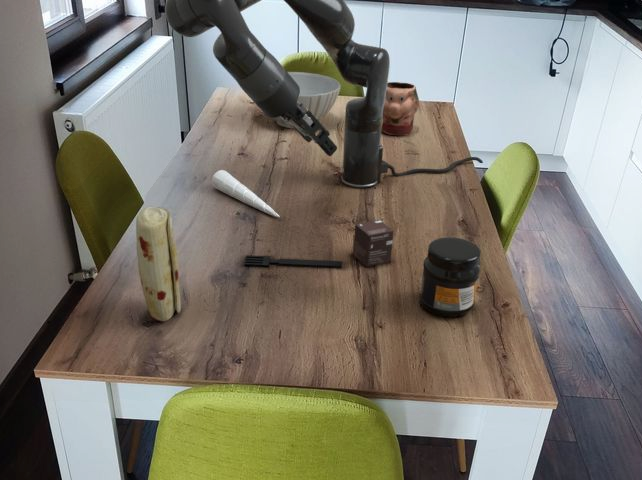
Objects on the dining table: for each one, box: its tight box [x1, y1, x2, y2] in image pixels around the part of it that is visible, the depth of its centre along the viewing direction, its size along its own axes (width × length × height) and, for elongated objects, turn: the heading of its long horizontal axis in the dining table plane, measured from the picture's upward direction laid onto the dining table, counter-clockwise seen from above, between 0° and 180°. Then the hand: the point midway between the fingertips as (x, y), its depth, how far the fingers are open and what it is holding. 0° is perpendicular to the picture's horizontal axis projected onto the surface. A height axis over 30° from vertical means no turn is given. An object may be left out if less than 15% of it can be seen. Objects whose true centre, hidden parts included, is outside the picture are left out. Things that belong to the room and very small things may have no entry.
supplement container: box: [419, 236, 482, 318], centre depth 131 cm, size 10×10×12 cm
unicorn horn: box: [211, 169, 281, 218], centre depth 168 cm, size 5×24×5 cm, turn 40°
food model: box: [135, 205, 182, 322], centre depth 122 cm, size 10×7×20 cm
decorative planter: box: [381, 81, 420, 136], centre depth 216 cm, size 20×12×14 cm, turn 174°
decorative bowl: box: [273, 71, 341, 130], centre depth 219 cm, size 27×27×12 cm
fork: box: [243, 254, 343, 269], centre depth 146 cm, size 20×4×1 cm, turn 90°
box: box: [352, 219, 394, 267], centre depth 147 cm, size 6×6×7 cm
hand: (322, 145), depth 130 cm, fingers open, 8 cm apart
